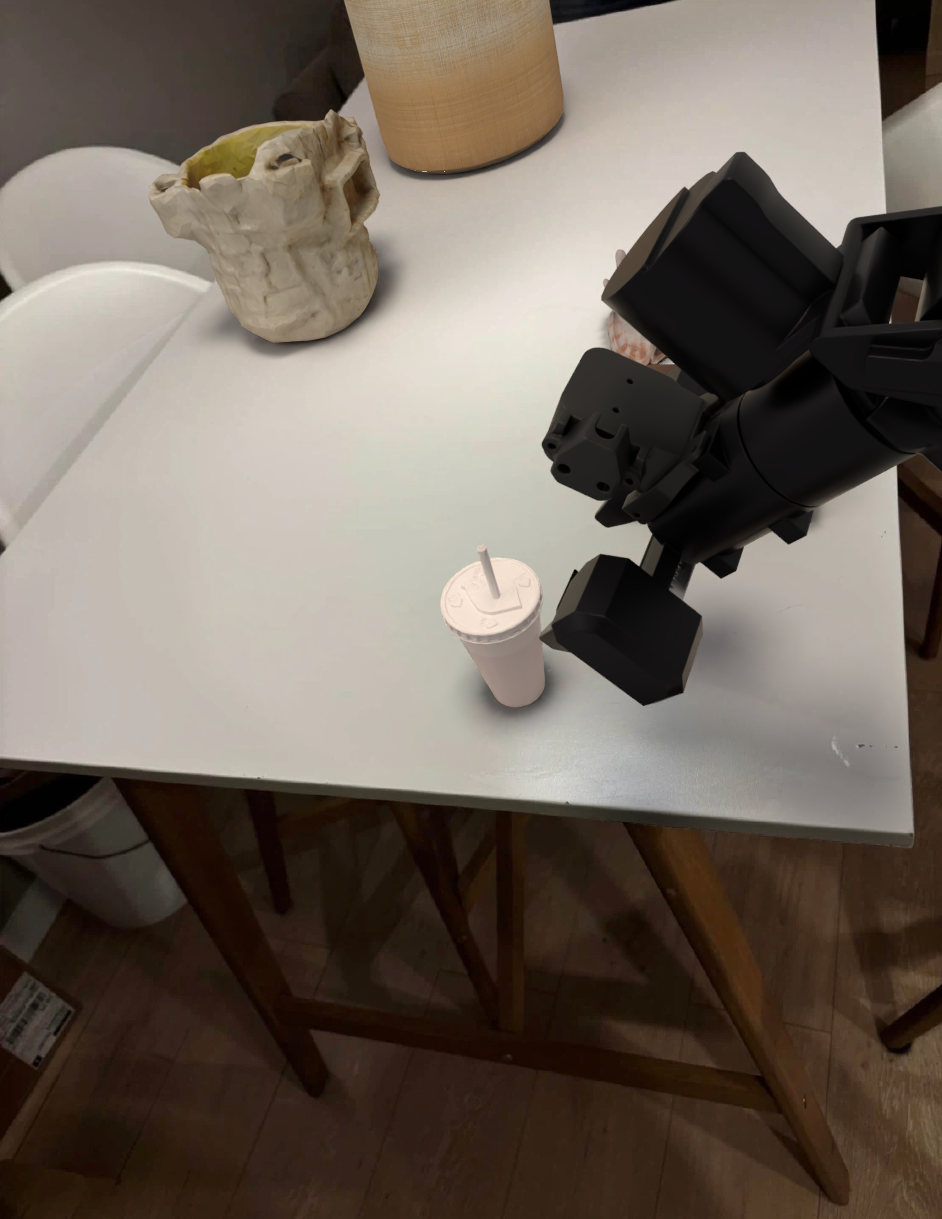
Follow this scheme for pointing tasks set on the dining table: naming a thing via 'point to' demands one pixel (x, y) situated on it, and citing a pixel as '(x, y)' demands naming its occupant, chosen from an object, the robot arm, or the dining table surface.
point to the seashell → (629, 334)
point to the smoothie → (499, 625)
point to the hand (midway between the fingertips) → (574, 578)
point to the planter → (458, 78)
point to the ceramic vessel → (281, 223)
